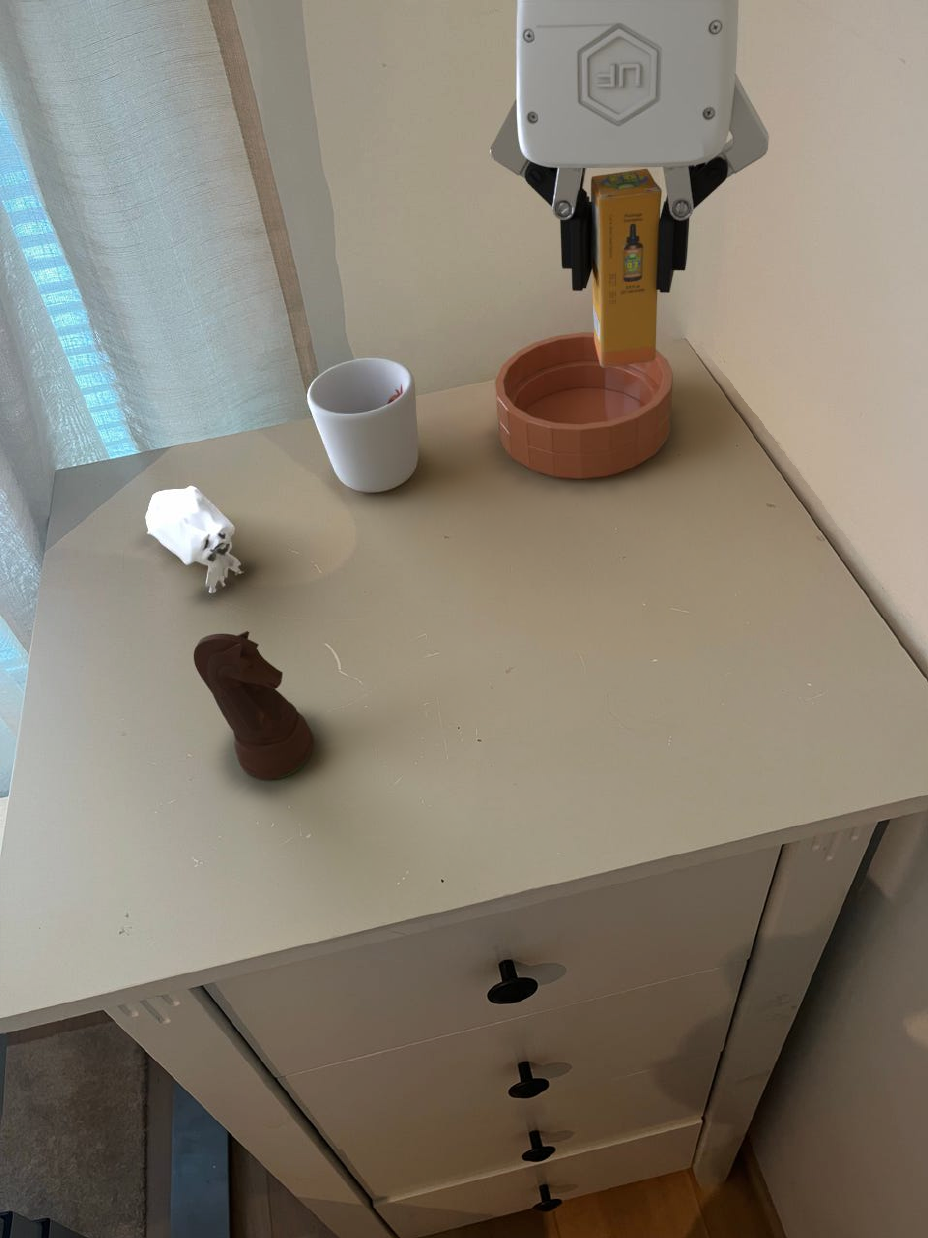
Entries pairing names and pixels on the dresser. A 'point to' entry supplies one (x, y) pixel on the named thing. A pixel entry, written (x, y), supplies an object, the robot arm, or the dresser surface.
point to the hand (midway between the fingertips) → (623, 276)
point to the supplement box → (625, 266)
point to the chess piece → (254, 706)
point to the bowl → (581, 408)
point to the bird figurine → (193, 531)
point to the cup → (367, 422)
